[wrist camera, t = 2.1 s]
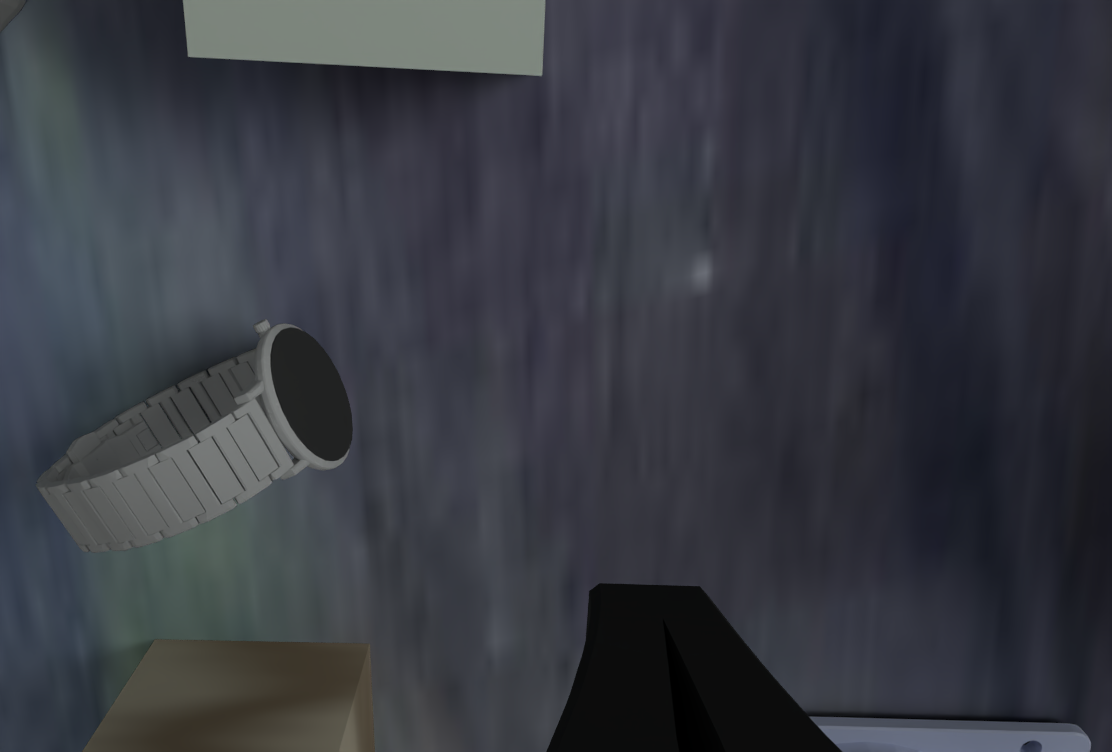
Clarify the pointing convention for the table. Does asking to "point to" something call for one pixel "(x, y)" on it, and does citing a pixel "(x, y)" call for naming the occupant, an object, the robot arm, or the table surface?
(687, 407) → the table surface
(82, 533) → the wristwatch
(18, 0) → the glass holder
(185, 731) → the birch block
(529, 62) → the sage block
